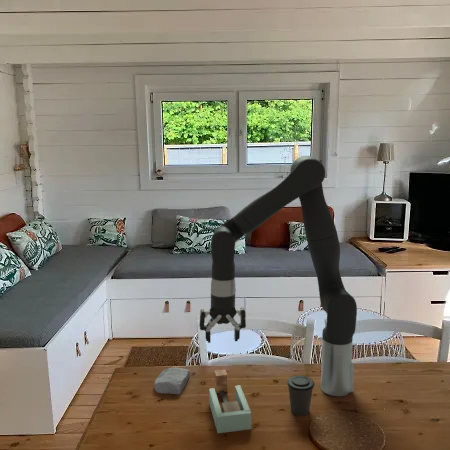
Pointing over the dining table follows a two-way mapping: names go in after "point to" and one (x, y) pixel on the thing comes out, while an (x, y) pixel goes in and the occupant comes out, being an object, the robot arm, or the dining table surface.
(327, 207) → the robot arm
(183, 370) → the stone block
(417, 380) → the dining table surface
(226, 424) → the channel
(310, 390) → the coffee cup
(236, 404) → the wooden cube dumbbell
